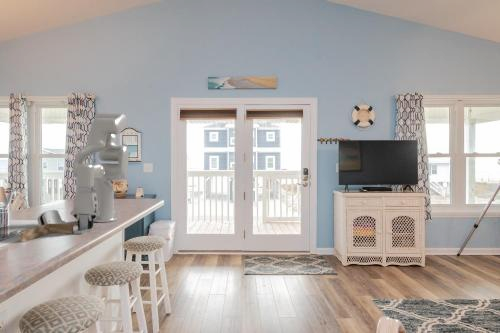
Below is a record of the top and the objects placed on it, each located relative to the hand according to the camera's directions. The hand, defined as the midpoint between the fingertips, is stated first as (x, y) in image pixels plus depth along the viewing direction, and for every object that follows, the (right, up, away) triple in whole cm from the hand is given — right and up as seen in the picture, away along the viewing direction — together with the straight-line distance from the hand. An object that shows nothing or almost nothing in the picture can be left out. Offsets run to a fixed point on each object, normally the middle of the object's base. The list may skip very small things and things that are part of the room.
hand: (85, 228), depth 159 cm
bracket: (0, -1, -2) cm, 3 cm away
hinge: (-19, -1, +5) cm, 20 cm away
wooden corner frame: (-10, -2, -13) cm, 16 cm away
